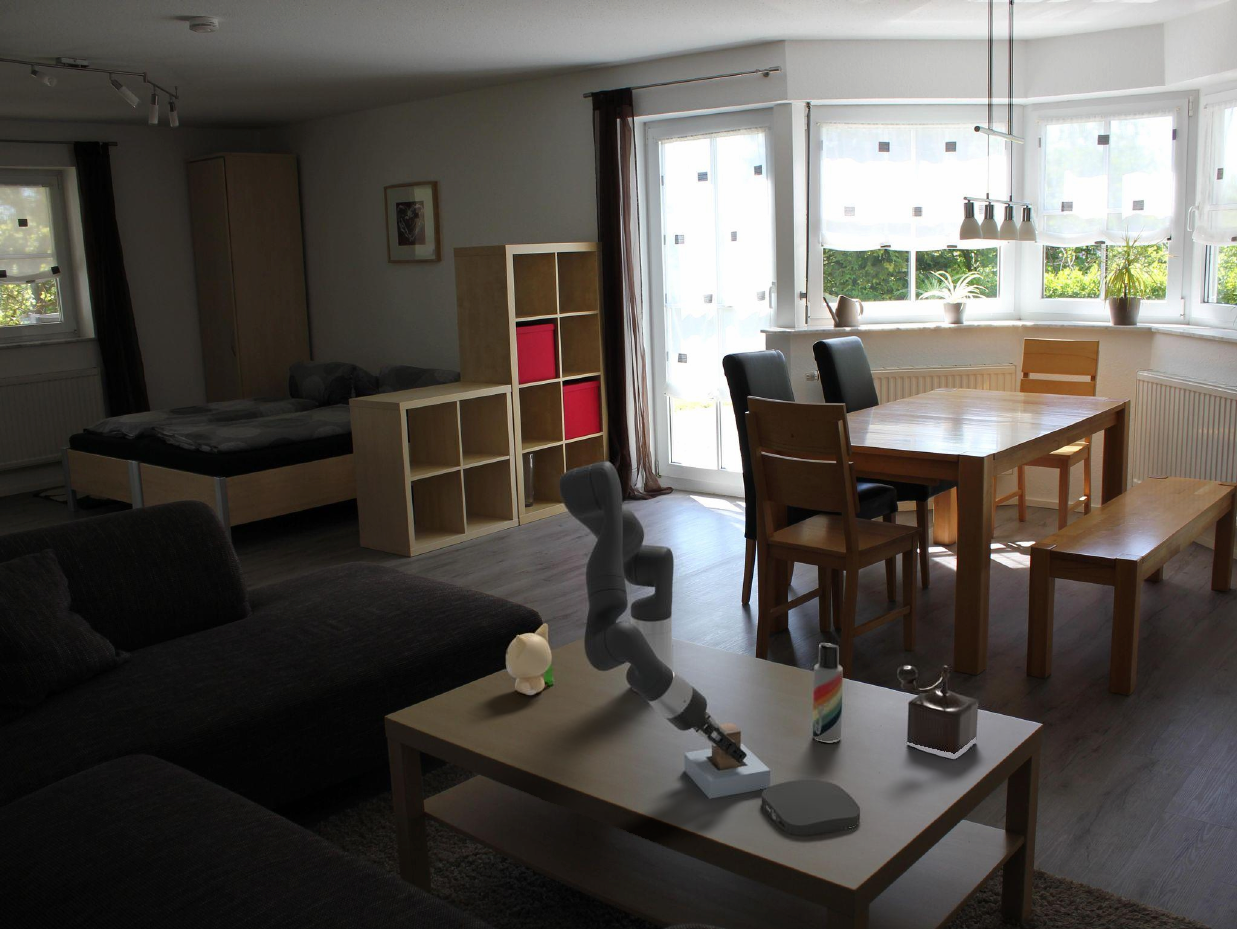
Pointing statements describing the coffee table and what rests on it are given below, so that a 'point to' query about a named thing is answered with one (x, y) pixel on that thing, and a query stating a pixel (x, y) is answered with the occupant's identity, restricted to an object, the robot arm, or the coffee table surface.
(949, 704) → the manual coffee grinder
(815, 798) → the media streaming box
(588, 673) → the coffee table surface
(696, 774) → the socket
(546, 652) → the kitten
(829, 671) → the lotion bottle
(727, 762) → the peg
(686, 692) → the robot arm
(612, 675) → the coffee table surface
